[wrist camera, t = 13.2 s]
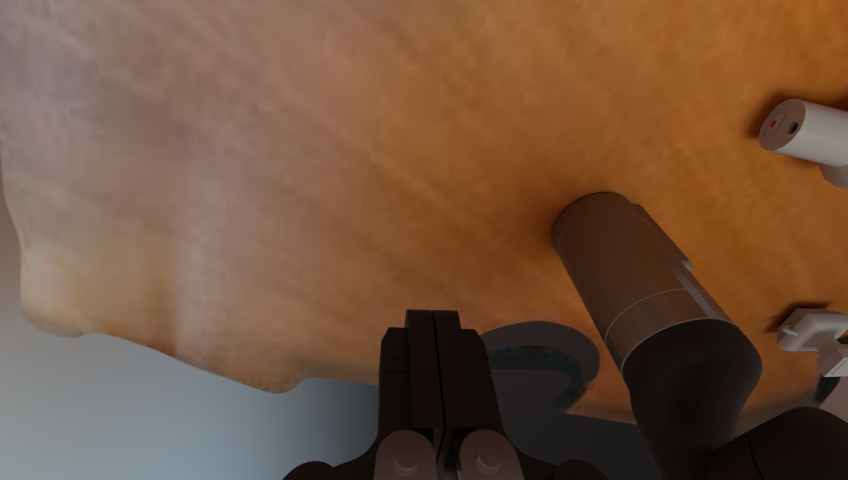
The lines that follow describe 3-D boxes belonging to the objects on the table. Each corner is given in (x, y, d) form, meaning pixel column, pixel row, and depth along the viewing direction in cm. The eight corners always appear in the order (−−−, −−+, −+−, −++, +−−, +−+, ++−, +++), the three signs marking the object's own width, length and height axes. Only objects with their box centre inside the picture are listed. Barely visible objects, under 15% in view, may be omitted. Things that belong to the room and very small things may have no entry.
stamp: (841, 301, 59) (899, 350, 52) (810, 331, 63) (860, 381, 56) (785, 300, 58) (837, 351, 51) (756, 332, 62) (801, 382, 55)
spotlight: (832, 181, 44) (907, 208, 37) (729, 156, 44) (783, 179, 36) (885, 102, 40) (979, 116, 33) (773, 75, 40) (843, 82, 33)
